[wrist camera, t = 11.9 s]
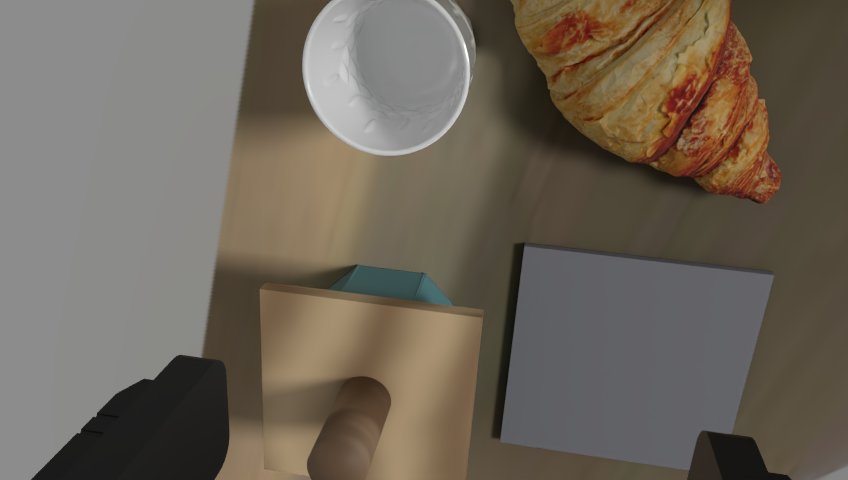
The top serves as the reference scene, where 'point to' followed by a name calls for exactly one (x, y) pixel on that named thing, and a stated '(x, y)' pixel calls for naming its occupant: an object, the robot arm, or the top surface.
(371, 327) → the lid
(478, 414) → the top surface
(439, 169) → the top surface
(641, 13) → the croissant
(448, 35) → the white cup
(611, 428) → the mat
